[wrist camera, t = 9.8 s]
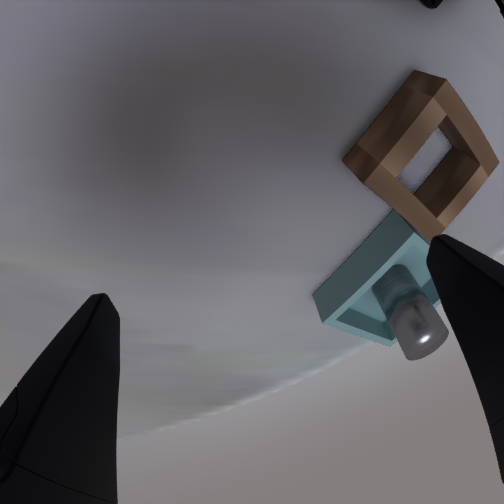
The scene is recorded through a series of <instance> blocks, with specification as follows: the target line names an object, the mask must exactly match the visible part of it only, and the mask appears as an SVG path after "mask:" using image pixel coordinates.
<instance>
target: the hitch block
mask: <svg viewBox="0 0 504 504" xmlns="http://www.w3.org/2000/svg"><path fill="white" fill-rule="evenodd" d="M437 127H439V128H440V130H441V131H442V132H443V134H444V135H445V136H446V137H447V139H448V140H449V141H450V143H451V144H452V145H453V147H452V148H451V150H450V151H449V152H448V153H447V155H446V156H445V157H444V158H443V160H442V161H441V162H440V163H439V165H438V166H437V167H436V168H435V169H434V171H433V172H432V173H431V174H430V176H429V177H428V178H427V179H426V180H425V182H424V183H423V184H422V185H421V186H420V187H419V189H418V190H417V191H416V192H415V193H414V194H412V193H411V192H410V191H409V190H408V189H407V188H406V187H405V186H404V185H403V184H402V183H401V182H400V181H399V180H398V179H397V178H396V177H397V176H398V175H399V173H400V172H401V171H402V170H403V169H404V167H405V166H406V165H407V164H408V163H409V161H410V160H411V159H412V158H413V157H414V155H415V154H416V153H417V152H418V150H419V149H420V148H421V147H422V145H423V144H424V143H425V142H426V140H427V139H428V138H429V137H430V135H431V134H432V133H433V132H434V130H435V129H436V128H437ZM342 162H343V163H344V164H345V165H346V166H347V167H348V168H349V169H350V170H351V171H352V172H353V173H354V174H355V176H356V177H357V178H358V179H359V180H360V181H361V182H362V183H363V184H364V185H365V186H367V187H368V188H369V189H370V190H372V191H373V192H374V193H375V194H376V195H378V196H379V197H380V198H381V199H383V200H384V201H385V202H386V203H387V204H389V205H390V206H391V207H392V208H393V209H394V210H396V211H397V212H398V213H399V214H400V215H401V216H403V217H404V218H405V219H406V220H407V221H408V222H409V223H410V224H412V225H413V226H414V227H415V228H416V229H417V230H418V231H419V232H420V233H422V234H423V235H424V236H425V237H426V238H427V239H428V240H429V241H430V242H431V239H432V238H433V237H434V236H436V235H440V234H441V233H442V232H443V231H444V230H445V229H446V228H447V227H448V225H449V224H450V223H451V222H452V221H453V220H454V219H455V217H456V216H457V215H458V214H459V213H460V212H461V210H462V209H463V208H464V207H465V206H466V204H467V203H468V202H469V201H470V200H471V198H472V197H473V196H474V195H475V194H476V192H477V191H478V190H479V189H480V187H481V186H482V185H483V184H484V182H485V181H486V180H487V178H488V177H489V176H490V174H491V173H492V172H493V171H494V169H495V168H496V167H497V165H498V164H499V161H498V159H497V157H496V155H495V153H494V151H493V149H492V148H491V146H490V144H489V142H488V141H487V139H486V137H485V135H484V134H483V132H482V130H481V129H480V127H479V125H478V124H477V122H476V121H475V119H474V118H473V116H472V114H471V113H470V111H469V110H468V108H467V107H466V105H465V104H464V102H463V101H462V100H461V98H460V97H459V95H458V94H457V92H456V91H455V90H454V88H453V87H452V86H451V84H450V83H449V82H448V80H447V79H444V78H441V77H438V76H434V75H431V74H427V73H424V72H420V71H416V70H415V71H414V72H413V73H412V75H411V76H410V77H409V78H408V80H407V81H406V82H405V83H404V85H403V86H402V87H401V88H400V90H399V91H398V92H397V93H396V95H395V96H394V97H393V98H392V100H391V101H390V102H389V103H388V105H387V106H386V107H385V108H384V110H383V111H382V112H381V113H380V115H379V116H378V117H377V118H376V120H375V121H374V122H373V123H372V125H371V126H370V127H369V128H368V130H367V131H366V132H365V133H364V135H363V136H362V137H361V138H360V140H359V141H358V142H357V143H356V144H355V146H354V147H353V148H352V149H351V151H350V152H349V153H348V154H347V156H346V157H345V158H344V159H343V161H342Z"/></svg>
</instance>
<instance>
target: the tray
mask: <svg viewBox="0 0 504 504" xmlns="http://www.w3.org/2000/svg"><path fill="white" fill-rule="evenodd" d="M430 243H431V242H430V241H429V240H428V239H427V238H426V237H425V236H424V235H423V234H422V233H420V232H419V231H418V230H417V229H416V228H415V227H414V226H413V225H412V224H410V223H409V222H408V221H407V220H406V219H405V218H404V217H403V216H401V215H400V214H399V213H398V212H397V211H396V210H394V209H393V210H392V211H391V213H390V214H389V215H388V216H387V217H386V218H385V219H384V220H383V221H382V223H381V224H380V225H379V226H378V227H377V228H376V229H375V230H374V231H373V233H372V234H371V235H370V236H369V237H368V238H367V239H366V240H365V241H364V242H363V243H362V244H361V245H360V247H359V248H358V249H357V250H356V251H355V252H354V253H353V254H352V255H351V256H350V257H349V258H348V259H347V260H346V261H345V262H344V263H343V264H342V266H341V267H340V268H339V269H338V270H337V271H336V272H335V273H334V274H333V275H332V276H331V277H330V278H329V279H328V280H327V281H326V282H325V283H324V284H323V285H322V286H321V287H320V288H319V289H318V290H317V291H316V292H315V293H314V294H313V298H314V301H315V304H316V307H317V309H318V312H319V315H320V318H321V321H322V323H323V324H326V325H329V326H331V327H334V328H337V329H340V330H343V331H345V332H348V333H351V334H354V335H357V336H360V337H363V338H366V339H369V340H371V341H374V342H378V343H380V344H383V345H386V346H391V345H393V344H394V343H395V342H397V341H398V340H397V338H396V336H395V334H394V332H393V330H392V328H391V326H390V324H389V322H388V321H387V319H386V317H385V315H384V313H383V311H382V309H381V307H380V305H379V303H378V302H377V300H376V298H375V296H374V294H373V292H372V285H373V284H374V283H375V282H376V281H377V280H378V279H379V278H380V277H381V276H382V275H383V274H384V273H385V272H386V271H387V270H388V269H389V268H390V267H391V266H392V265H396V264H401V265H405V266H406V267H407V268H408V269H409V271H410V272H411V273H412V275H413V276H414V278H415V279H416V281H417V282H418V284H419V285H420V287H421V288H422V290H423V291H424V293H425V294H426V296H427V297H428V299H429V300H430V302H431V303H432V305H433V306H434V308H436V307H437V306H438V305H439V304H440V303H441V301H440V298H439V296H438V293H437V290H436V288H435V285H434V283H433V280H432V278H431V275H430V273H429V270H428V268H427V264H426V258H427V254H428V250H429V247H430Z"/></svg>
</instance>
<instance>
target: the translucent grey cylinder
mask: <svg viewBox="0 0 504 504" xmlns="http://www.w3.org/2000/svg"><path fill="white" fill-rule="evenodd" d="M372 292H373V294H374V296H375V298H376V300H377V302H378V303H379V305H380V307H381V309H382V311H383V313H384V315H385V317H386V319H387V321H388V322H389V324H390V326H391V328H392V330H393V332H394V334H395V336H396V338H397V340H398V342H399V344H400V346H401V348H402V350H403V352H404V354H405V357H406V358H407V359H408V360H418V359H421V358H423V357H425V356H427V355H429V354H431V353H432V352H434V351H435V350H436V349H438V348H439V347H440V346H441V345H442V344H443V343H444V342H445V340H446V339H447V337H448V334H449V331H448V329H447V327H446V326H445V324H444V322H443V321H442V319H441V317H440V316H439V314H438V313H437V311H436V310H435V308H434V306H433V305H432V303H431V302H430V300H429V299H428V297H427V296H426V294H425V293H424V291H423V290H422V288H421V287H420V285H419V284H418V282H417V281H416V279H415V278H414V276H413V275H412V273H411V272H410V271H409V269H408V268H407V267H406V266H405V265H401V264H396V265H392V266H391V267H390V268H389V269H388V270H387V271H386V272H385V273H384V274H383V275H382V276H381V277H380V278H379V279H378V280H377V281H376V282H375V283H374V284H373V285H372Z"/></svg>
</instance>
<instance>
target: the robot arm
mask: <svg viewBox="0 0 504 504" xmlns="http://www.w3.org/2000/svg"><path fill="white" fill-rule="evenodd" d="M421 1H422V2H423V3H424V5H425V6H426V7H428V8H430V9H434V8H437V7H438V6H439V4H440V3H441V2H442V1H443V0H431V1H432V5H431V4H430V1H429V0H421ZM495 1H496V3H497V5H498V6H499V8H500V13H501V14H502V16H503V18H504V0H495ZM426 264H427V268H428V270H429V273H430V275H431V278H432V280H433V283H434V285H435V288H436V290H437V293H438V296H439V298H440V301H441V304H442V306H443V308H444V311H445V313H446V316H447V318H448V320H449V322H450V324H451V327H452V329H453V331H454V333H455V336H456V338H457V340H458V342H459V345H460V347H461V350H462V352H463V354H464V357H465V359H466V362H467V364H468V367H469V370H470V372H471V375H472V378H473V380H474V383H475V386H476V388H477V391H478V394H479V397H480V400H481V403H482V406H483V409H484V412H485V416H486V419H487V422H488V425H489V430H490V433H491V436H492V440H493V444H494V448H495V452H496V456H497V460H498V465H499V469H500V474H501V479H502V482H503V483H504V266H503V265H502V264H500V263H499V262H497V261H495V260H493V259H492V258H490V257H488V256H486V255H484V254H483V253H481V252H479V251H477V250H475V249H473V248H471V247H470V246H468V245H466V244H464V243H462V242H460V241H458V240H456V239H454V238H452V237H450V236H448V235H446V234H441V235H436V236H434V237H433V238H432V239H431V243H430V247H429V250H428V254H427V258H426ZM119 378H120V317H119V314H118V312H117V310H116V308H115V307H114V305H113V303H112V302H111V300H110V298H109V297H108V295H107V294H105V293H99V294H93V295H91V296H90V297H89V298H88V299H87V300H86V302H85V303H84V304H83V305H82V306H81V307H80V308H79V309H78V311H77V312H76V313H75V314H74V315H73V316H72V317H71V319H70V320H69V321H68V322H67V323H66V324H65V326H64V327H63V328H62V329H61V330H60V331H59V333H58V334H57V335H56V336H55V337H54V339H53V340H52V341H51V342H50V343H49V345H48V346H47V347H46V348H45V349H44V351H43V352H42V353H41V354H40V356H39V357H38V358H37V359H36V361H35V362H34V363H33V364H32V366H31V367H30V368H29V370H28V371H27V372H26V373H25V375H24V376H23V377H22V379H21V380H20V381H19V383H18V384H17V387H15V388H14V389H13V391H12V392H11V393H10V395H9V396H8V397H7V399H6V400H5V401H4V403H3V404H2V405H1V407H0V504H117V503H118V500H117V470H116V439H117V409H118V391H119Z"/></svg>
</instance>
